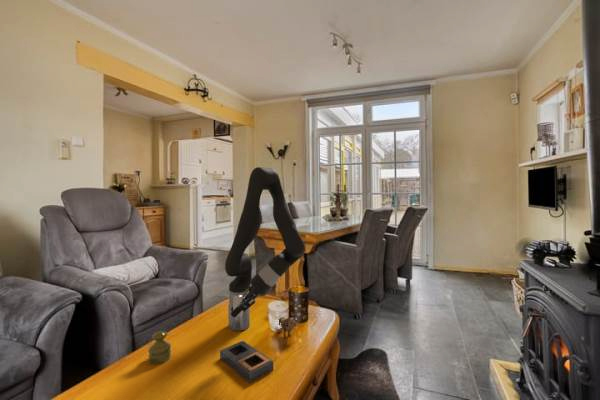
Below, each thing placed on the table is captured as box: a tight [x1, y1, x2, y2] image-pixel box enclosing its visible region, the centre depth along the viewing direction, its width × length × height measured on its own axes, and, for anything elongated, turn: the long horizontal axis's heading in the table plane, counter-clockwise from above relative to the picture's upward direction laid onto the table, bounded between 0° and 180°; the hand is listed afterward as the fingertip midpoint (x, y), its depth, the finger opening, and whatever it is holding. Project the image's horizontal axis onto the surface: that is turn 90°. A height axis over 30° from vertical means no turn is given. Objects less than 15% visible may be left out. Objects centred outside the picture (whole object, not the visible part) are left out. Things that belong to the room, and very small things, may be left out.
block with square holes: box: [219, 340, 274, 384], centre depth 103 cm, size 19×10×3 cm, turn 45°
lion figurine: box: [277, 316, 298, 340], centre depth 124 cm, size 15×5×9 cm, turn 35°
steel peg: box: [233, 294, 243, 330], centre depth 106 cm, size 4×4×12 cm
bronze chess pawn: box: [148, 330, 172, 365], centre depth 105 cm, size 7×7×10 cm
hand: (232, 313), depth 105 cm, fingers closed on steel peg, 3 cm apart
